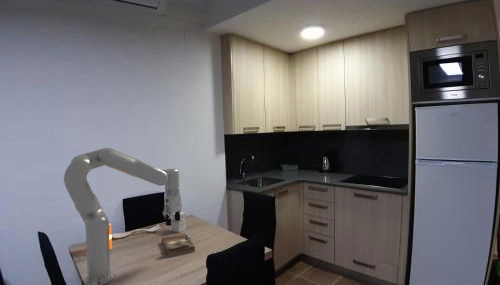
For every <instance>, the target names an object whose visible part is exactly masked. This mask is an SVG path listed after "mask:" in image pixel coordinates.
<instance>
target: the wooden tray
mask: <svg viewBox="0 0 500 285" xmlns="http://www.w3.org/2000/svg"><path fill="white" fill-rule="evenodd" d="M186 238H190V240H191V235H190V234H189V233H188V232H184V233H178V234H174V235H168V236H163V237H161V244H162V246H163V248H164V251H165V254H166V255H167V257H168V258H171V257H172V258H173V257H176V256H181V255H185V253H186V254H189V252H191V253H194V251H196V249H195V248H196V247H195V245H194V243H193V242H192V241H191V245H189V246H183V247H178V248H173V249H167V242H172V241H177V240H182V239H186ZM180 254H181V255H180Z"/></svg>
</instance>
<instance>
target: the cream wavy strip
mask: <svg viewBox="0 0 500 285" xmlns="http://www.w3.org/2000/svg"><path fill="white" fill-rule="evenodd" d="M160 230H162V228H161V227H160V224H156V225H155V226H153V227H151V228H149V229H147V228H139V229H138V228H137V229H134V230H131V231H125V232H119V233H118V232H117V233H111V234H112V239H122V238H125V237H128V236H129V235H130V234H132V233H135V232H140V231H144V232H148V233H153V232H154V233H155V232H156V231H160Z"/></svg>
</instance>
